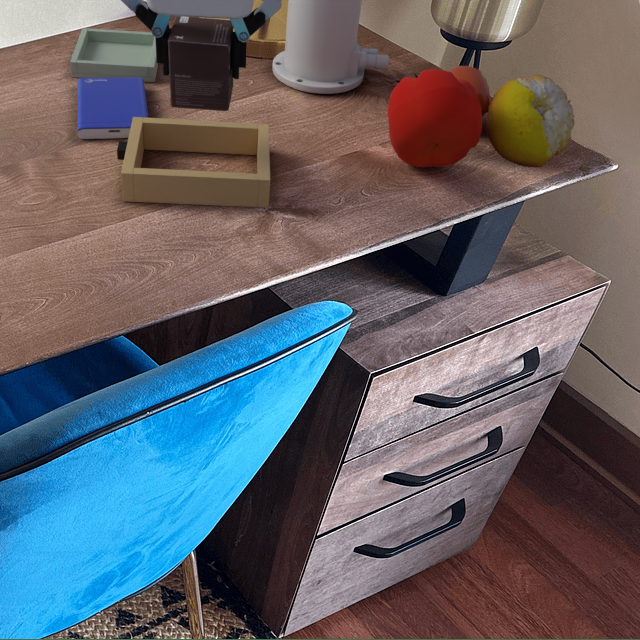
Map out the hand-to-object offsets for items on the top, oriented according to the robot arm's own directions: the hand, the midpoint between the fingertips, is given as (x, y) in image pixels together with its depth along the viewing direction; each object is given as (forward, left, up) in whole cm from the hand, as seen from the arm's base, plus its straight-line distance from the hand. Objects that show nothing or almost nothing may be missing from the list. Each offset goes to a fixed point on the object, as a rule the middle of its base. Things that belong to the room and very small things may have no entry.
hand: (202, 69), depth 85 cm
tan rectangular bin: (0, +1, -12) cm, 12 cm away
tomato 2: (-33, -17, -6) cm, 37 cm away
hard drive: (+11, -12, -12) cm, 21 cm away
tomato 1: (-26, 0, -8) cm, 28 cm away
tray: (+12, -26, -12) cm, 32 cm away
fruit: (-40, -10, -10) cm, 42 cm away
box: (0, 0, -3) cm, 3 cm away
